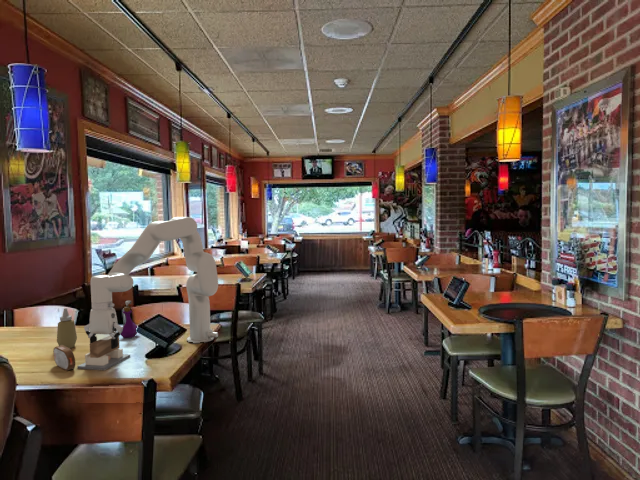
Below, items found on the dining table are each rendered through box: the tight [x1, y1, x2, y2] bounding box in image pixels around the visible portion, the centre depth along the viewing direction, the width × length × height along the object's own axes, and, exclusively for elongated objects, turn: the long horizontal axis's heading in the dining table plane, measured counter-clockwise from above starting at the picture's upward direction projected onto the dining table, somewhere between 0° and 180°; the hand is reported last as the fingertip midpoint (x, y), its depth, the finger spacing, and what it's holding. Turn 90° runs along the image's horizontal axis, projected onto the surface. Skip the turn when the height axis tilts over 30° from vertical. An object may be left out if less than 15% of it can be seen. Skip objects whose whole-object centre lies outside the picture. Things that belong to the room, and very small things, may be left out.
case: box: [89, 335, 121, 358], centre depth 178 cm, size 4×13×6 cm, turn 168°
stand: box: [76, 348, 131, 371], centre depth 178 cm, size 12×16×5 cm
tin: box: [53, 345, 76, 371], centre depth 172 cm, size 15×3×8 cm, turn 51°
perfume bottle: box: [120, 300, 138, 339], centre depth 215 cm, size 8×8×18 cm
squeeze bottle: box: [56, 308, 78, 349], centre depth 199 cm, size 8×8×18 cm
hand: (104, 347), depth 178 cm, fingers open, 9 cm apart
